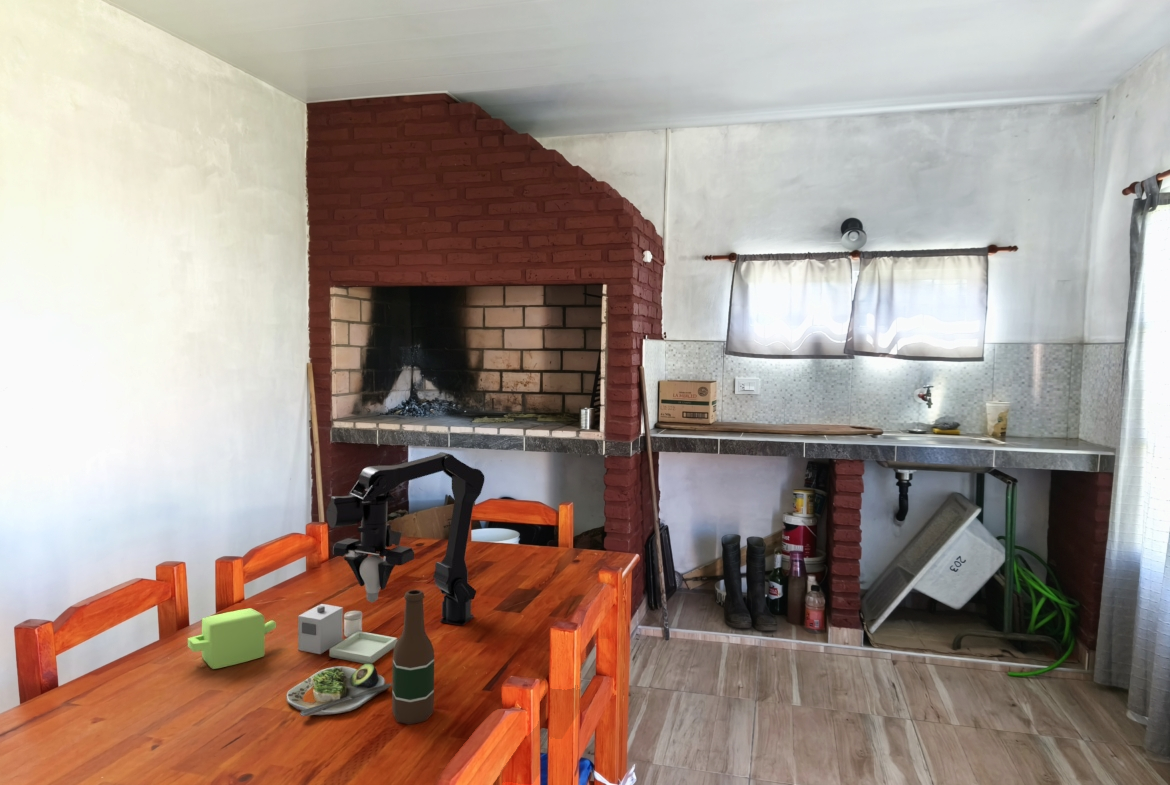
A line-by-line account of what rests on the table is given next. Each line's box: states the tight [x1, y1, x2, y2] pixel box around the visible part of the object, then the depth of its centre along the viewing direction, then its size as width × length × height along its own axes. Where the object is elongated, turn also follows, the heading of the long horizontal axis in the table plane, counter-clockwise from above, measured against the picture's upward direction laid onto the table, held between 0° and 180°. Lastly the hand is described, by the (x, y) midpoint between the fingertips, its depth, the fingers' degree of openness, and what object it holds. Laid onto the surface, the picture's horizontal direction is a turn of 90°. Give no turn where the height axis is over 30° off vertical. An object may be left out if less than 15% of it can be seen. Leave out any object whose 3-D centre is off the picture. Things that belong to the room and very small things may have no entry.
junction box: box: [297, 603, 344, 655], centre depth 164 cm, size 6×9×9 cm
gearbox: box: [187, 607, 277, 670], centre depth 158 cm, size 18×10×10 cm, turn 134°
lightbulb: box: [360, 555, 384, 604], centre depth 165 cm, size 6×6×11 cm
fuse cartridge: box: [343, 610, 363, 638], centre depth 171 cm, size 4×4×5 cm
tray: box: [329, 631, 398, 665], centre depth 162 cm, size 11×11×2 cm
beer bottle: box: [391, 589, 435, 726], centre depth 134 cm, size 8×8×24 cm
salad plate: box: [285, 663, 393, 717], centre depth 141 cm, size 19×18×5 cm
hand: (372, 587), depth 165 cm, fingers closed on lightbulb, 5 cm apart
